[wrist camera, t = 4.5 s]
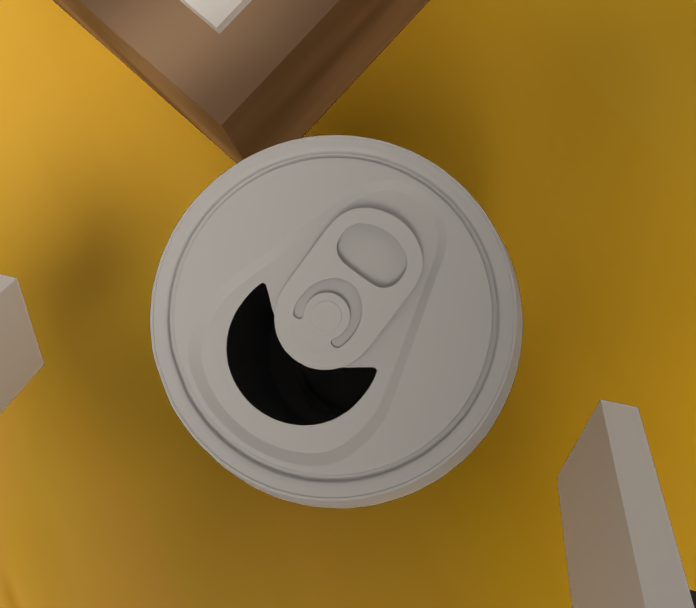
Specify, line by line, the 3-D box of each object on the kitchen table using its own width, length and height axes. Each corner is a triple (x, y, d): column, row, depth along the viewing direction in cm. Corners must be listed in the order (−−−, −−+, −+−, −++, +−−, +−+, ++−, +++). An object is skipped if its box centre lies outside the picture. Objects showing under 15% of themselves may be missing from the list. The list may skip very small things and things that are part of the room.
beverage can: (237, 365, 21) (38, 352, 9) (345, 226, 21) (293, 33, 9) (378, 477, 20) (368, 629, 8) (488, 330, 20) (633, 267, 8)
